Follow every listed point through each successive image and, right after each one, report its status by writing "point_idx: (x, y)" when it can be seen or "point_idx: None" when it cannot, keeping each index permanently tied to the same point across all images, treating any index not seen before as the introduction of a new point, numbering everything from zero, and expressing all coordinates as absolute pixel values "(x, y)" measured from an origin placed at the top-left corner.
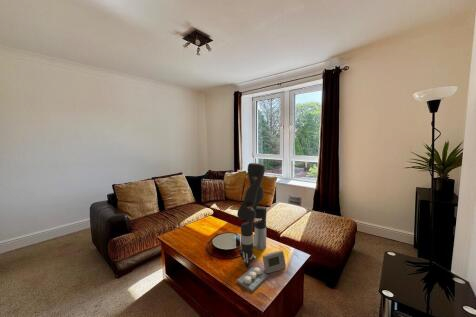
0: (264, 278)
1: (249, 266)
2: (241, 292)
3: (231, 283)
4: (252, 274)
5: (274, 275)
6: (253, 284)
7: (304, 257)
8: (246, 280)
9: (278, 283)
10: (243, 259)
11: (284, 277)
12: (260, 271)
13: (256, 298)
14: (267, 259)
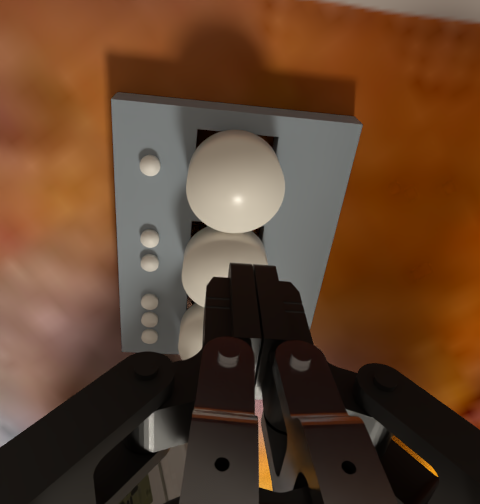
0: (120, 304)
1: (204, 311)
2: (224, 8)
3: (408, 62)
4: (222, 272)
5: (91, 374)
6: (150, 174)
7: None
8: (229, 155)
9: (2, 324)
10: (358, 379)
11: (13, 394)
12: (178, 346)
13: (22, 38)
14: (154, 495)
